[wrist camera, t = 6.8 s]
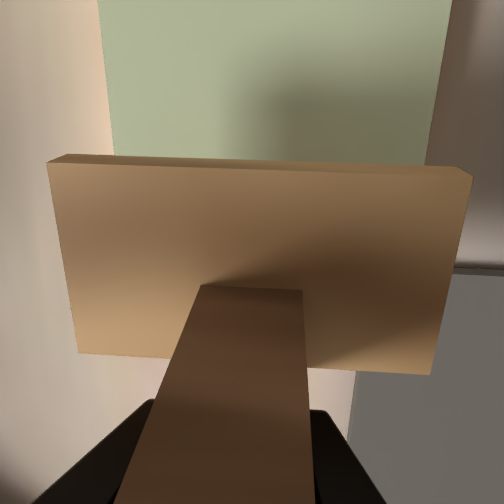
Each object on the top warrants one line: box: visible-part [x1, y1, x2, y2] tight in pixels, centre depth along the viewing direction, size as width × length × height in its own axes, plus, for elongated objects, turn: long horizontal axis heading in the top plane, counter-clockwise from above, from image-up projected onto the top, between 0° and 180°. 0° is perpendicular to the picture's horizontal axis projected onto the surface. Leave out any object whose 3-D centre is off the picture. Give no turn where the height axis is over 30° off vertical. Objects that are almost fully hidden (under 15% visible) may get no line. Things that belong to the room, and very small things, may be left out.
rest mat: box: [347, 267, 504, 504], centre depth 18 cm, size 12×10×1 cm
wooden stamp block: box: [46, 154, 474, 504], centre depth 7 cm, size 5×9×9 cm, turn 89°
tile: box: [98, 0, 452, 165], centre depth 14 cm, size 2×10×8 cm
